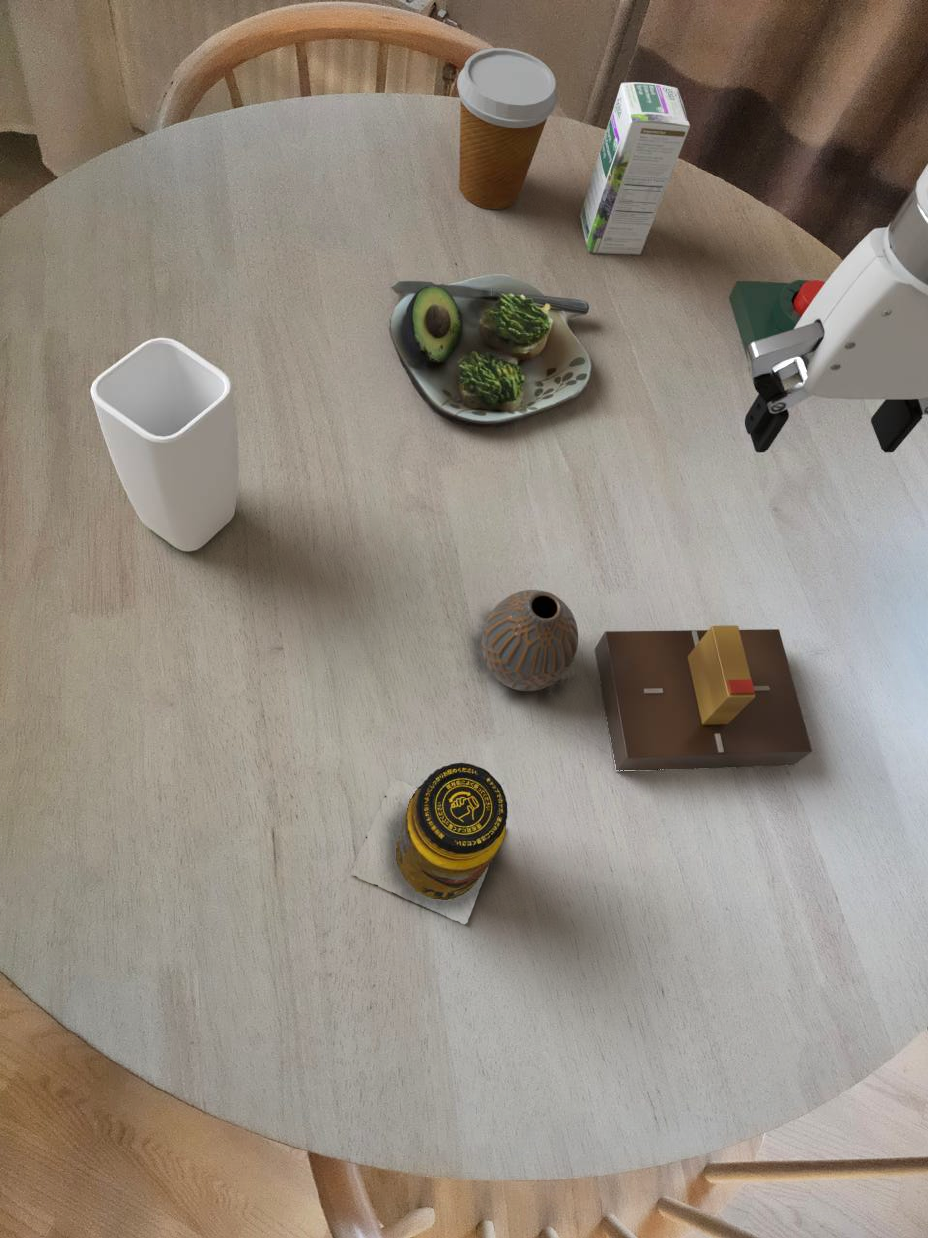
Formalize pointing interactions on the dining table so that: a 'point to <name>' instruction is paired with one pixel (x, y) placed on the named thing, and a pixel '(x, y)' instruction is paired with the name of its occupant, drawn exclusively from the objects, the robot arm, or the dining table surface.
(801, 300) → the round red push button
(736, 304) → the green button box
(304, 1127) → the dining table surface
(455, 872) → the condiment
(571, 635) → the vase
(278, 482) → the dining table surface
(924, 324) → the robot arm
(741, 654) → the thumbturn
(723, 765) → the plate
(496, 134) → the disposable coffee cup
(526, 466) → the dining table surface
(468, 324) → the avocado toast plate
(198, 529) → the cup
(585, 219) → the syrup box
